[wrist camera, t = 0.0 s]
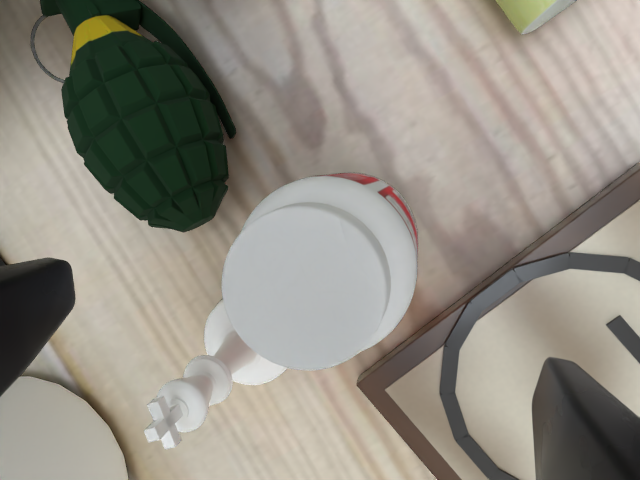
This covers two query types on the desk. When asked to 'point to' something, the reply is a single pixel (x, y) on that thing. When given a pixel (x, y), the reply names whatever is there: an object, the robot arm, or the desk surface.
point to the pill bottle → (322, 270)
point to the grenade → (143, 112)
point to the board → (520, 343)
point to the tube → (532, 12)
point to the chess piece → (207, 380)
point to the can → (54, 436)
